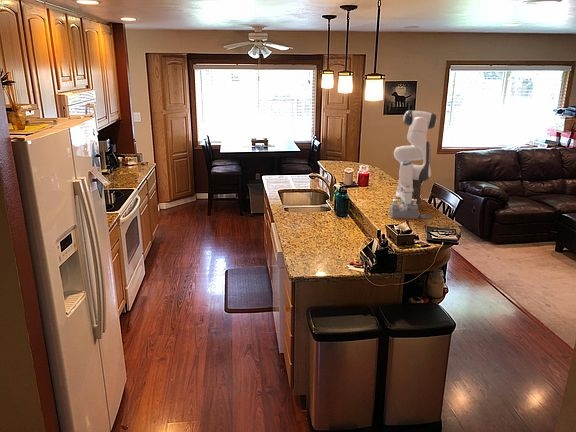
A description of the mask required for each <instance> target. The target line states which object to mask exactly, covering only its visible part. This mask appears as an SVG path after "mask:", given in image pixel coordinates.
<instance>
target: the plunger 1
mask: <svg viewBox="0 0 576 432" xmlns="http://www.w3.org/2000/svg"><path fill="white" fill-rule="evenodd" d="M398 202H399V199H398V198H392V204H393V206H397V204H398Z"/></svg>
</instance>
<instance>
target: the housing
mask: <svg viewBox="0 0 576 432" xmlns="http://www.w3.org/2000/svg"><path fill="white" fill-rule="evenodd" d="M388 215H389V216H390V218H391V219H395V220H397V219H420V218H419V215H420V209H418V205H417V204H416V206H411V204H409V207H408V209H407V210H401V206H400V205H399V204H398V203H397V206H393V203H391V204H390V206H389V213H388Z"/></svg>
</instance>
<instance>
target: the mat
mask: <svg viewBox="0 0 576 432" xmlns="http://www.w3.org/2000/svg"><path fill="white" fill-rule="evenodd" d="M418 219H420V220H433V219H434V217H433V216H432V215H430V214H419V218H418Z"/></svg>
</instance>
